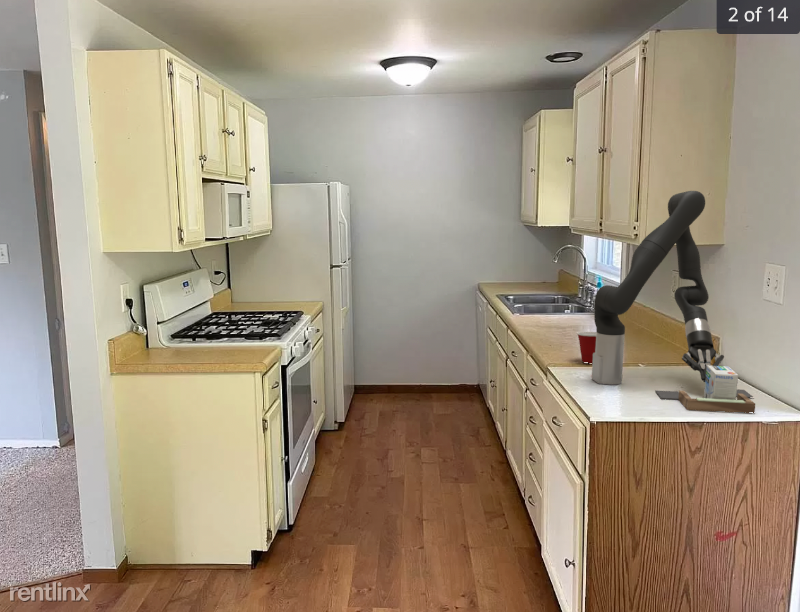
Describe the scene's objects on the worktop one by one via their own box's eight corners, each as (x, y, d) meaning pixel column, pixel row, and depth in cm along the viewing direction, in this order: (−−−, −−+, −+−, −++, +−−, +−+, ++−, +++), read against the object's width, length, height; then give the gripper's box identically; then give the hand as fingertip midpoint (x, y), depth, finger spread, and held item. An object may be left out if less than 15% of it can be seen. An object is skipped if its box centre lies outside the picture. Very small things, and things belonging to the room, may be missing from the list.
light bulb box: (703, 397, 195) (705, 364, 193) (726, 399, 193) (729, 366, 191) (711, 408, 184) (714, 373, 183) (736, 409, 183) (739, 375, 181)
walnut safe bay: (678, 399, 193) (679, 389, 192) (741, 403, 189) (742, 392, 189) (687, 409, 183) (688, 399, 182) (754, 413, 180) (755, 402, 179)
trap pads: (651, 386, 207) (651, 385, 206) (744, 391, 202) (744, 389, 202) (661, 399, 193) (661, 397, 193) (761, 404, 188) (761, 402, 188)
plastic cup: (598, 358, 244) (600, 329, 242) (608, 365, 233) (610, 335, 232) (571, 359, 244) (572, 329, 242) (580, 366, 233) (581, 335, 231)
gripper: (680, 328, 202) (688, 374, 192) (723, 330, 200) (733, 376, 190) (674, 340, 208) (682, 386, 198) (716, 342, 206) (726, 388, 196)
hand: (707, 381), depth 194 cm, fingers closed
